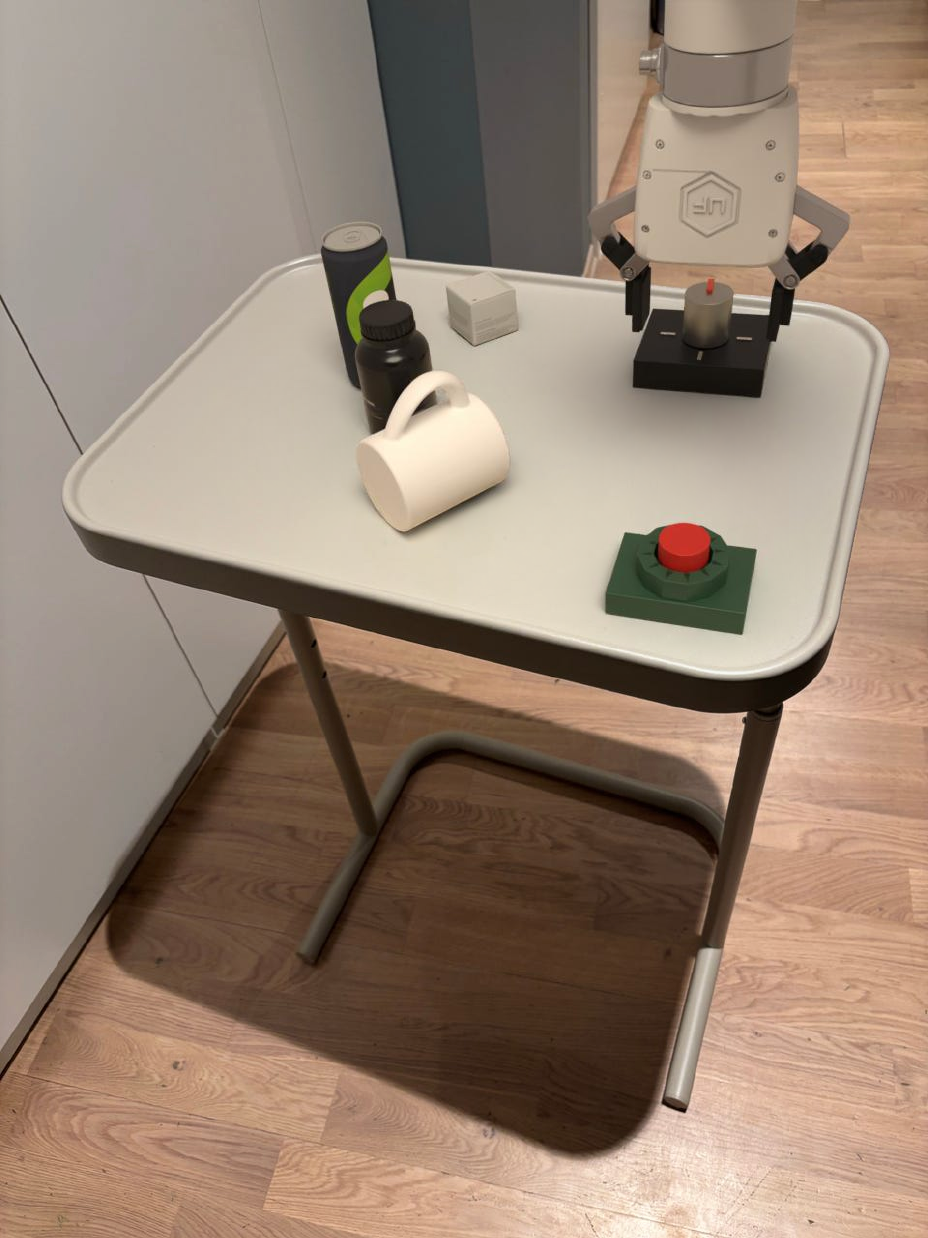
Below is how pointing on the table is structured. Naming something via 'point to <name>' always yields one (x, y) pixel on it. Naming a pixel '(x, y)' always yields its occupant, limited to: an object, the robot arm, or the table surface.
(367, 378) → the supplement bottle
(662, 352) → the dial panel
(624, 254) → the robot arm
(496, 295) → the small box
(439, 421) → the mug
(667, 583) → the button box
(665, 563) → the button
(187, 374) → the table surface
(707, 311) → the dial
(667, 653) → the table surface
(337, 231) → the beverage can
